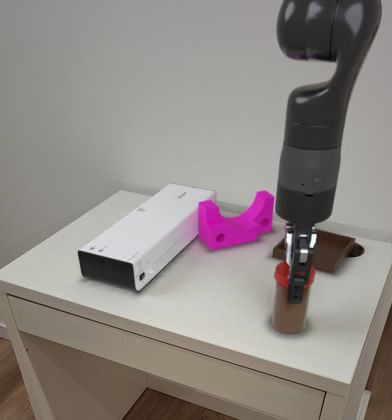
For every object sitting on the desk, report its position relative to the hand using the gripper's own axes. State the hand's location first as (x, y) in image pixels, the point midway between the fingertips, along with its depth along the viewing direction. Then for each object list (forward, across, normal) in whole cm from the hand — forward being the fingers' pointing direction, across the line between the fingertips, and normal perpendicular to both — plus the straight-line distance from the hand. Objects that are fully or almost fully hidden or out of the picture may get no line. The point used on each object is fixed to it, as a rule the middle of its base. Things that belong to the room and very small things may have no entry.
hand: (292, 290), depth 72 cm
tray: (+6, -24, +6) cm, 26 cm away
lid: (-3, 0, 0) cm, 3 cm away
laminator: (+6, -24, -25) cm, 35 cm away
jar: (+6, 0, 0) cm, 6 cm away
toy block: (+6, -30, -9) cm, 31 cm away
